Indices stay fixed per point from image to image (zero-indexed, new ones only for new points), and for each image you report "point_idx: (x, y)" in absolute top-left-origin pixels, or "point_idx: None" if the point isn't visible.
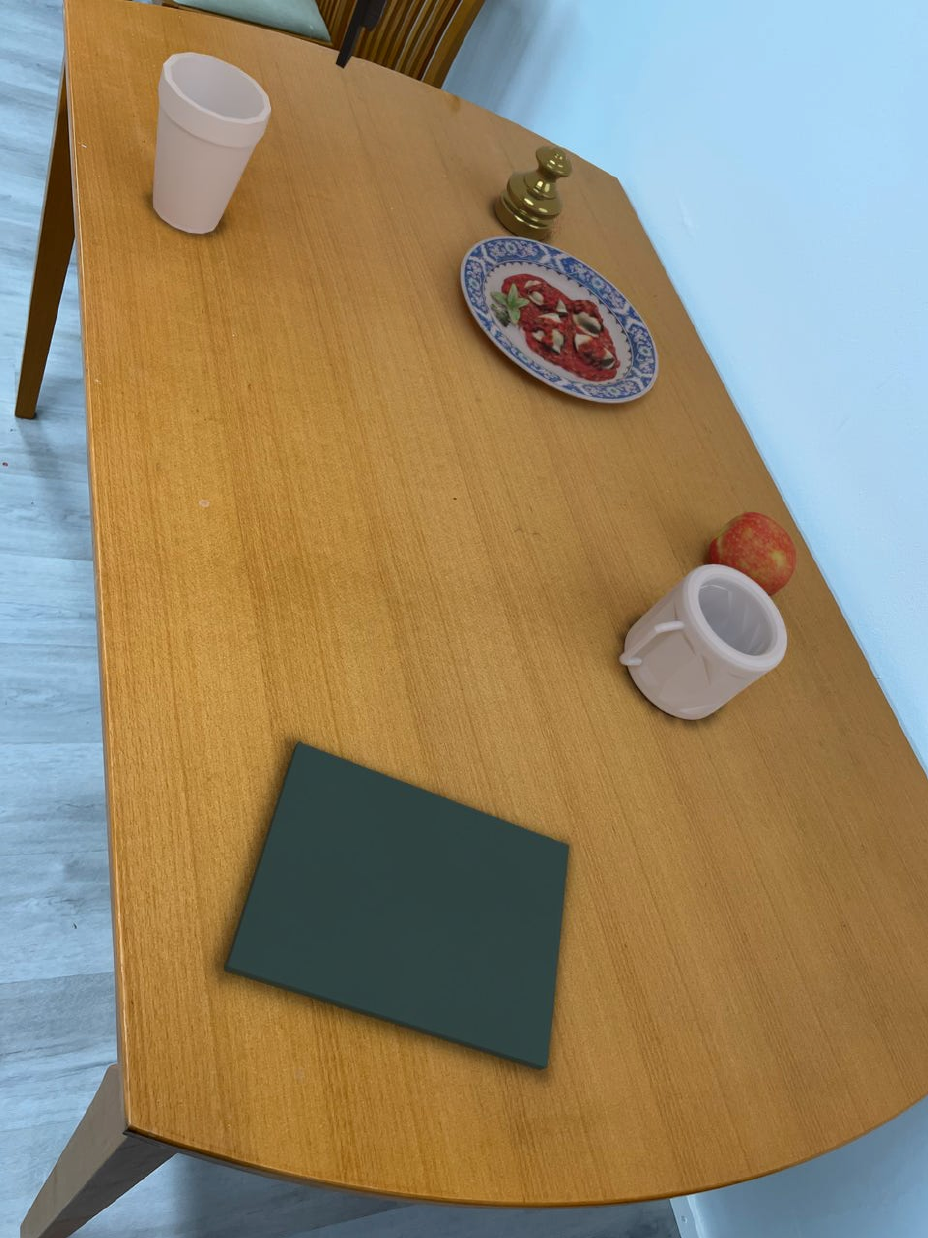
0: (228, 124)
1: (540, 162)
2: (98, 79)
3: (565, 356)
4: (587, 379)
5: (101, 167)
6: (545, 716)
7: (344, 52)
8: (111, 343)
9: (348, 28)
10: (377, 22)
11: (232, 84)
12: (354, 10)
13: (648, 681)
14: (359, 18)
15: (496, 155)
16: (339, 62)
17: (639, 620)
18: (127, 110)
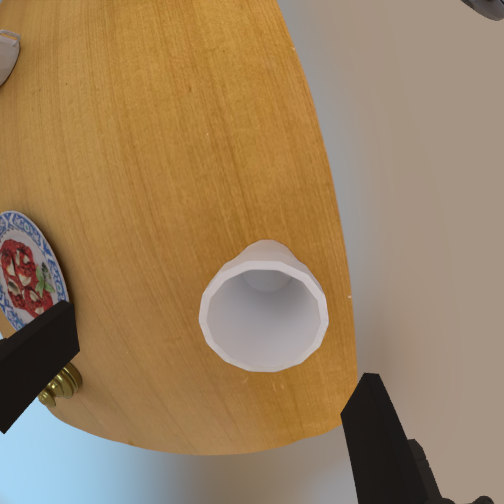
0: (241, 262)
1: (48, 394)
2: (343, 371)
3: (15, 249)
4: (8, 239)
5: (336, 280)
6: (57, 5)
7: (52, 312)
8: (293, 82)
9: (30, 333)
10: None
11: (249, 354)
12: (8, 353)
13: (14, 41)
14: (6, 343)
15: (99, 418)
16: (65, 304)
17: (6, 66)
18: (323, 354)
